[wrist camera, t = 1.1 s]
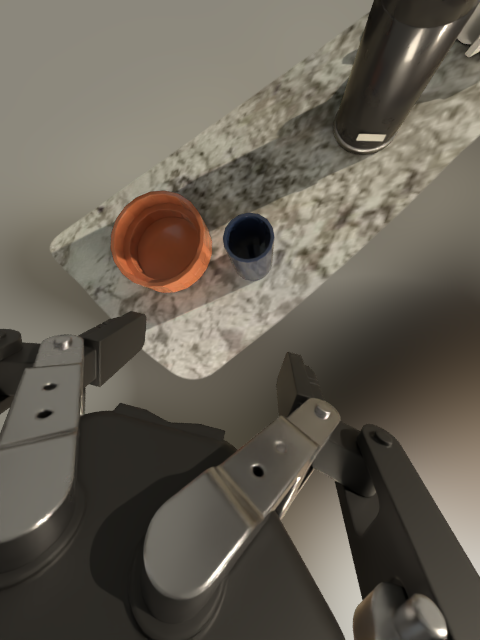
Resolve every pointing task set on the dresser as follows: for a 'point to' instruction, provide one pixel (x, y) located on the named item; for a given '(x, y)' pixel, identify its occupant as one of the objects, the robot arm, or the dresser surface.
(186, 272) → the bowl
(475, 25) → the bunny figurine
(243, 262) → the blue cup
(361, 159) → the dresser surface
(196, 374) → the dresser surface
